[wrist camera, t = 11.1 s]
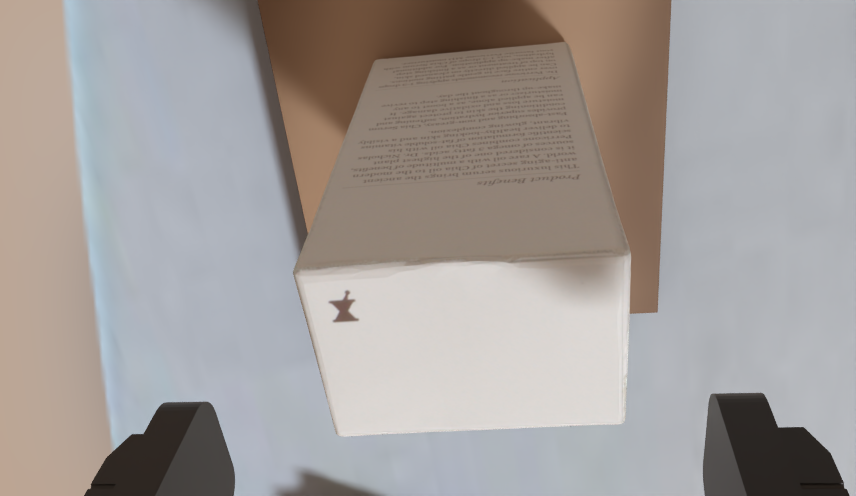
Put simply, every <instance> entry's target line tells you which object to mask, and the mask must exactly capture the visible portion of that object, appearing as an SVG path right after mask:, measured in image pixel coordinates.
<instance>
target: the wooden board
mask: <svg viewBox="0 0 856 496" xmlns="http://www.w3.org/2000/svg"><path fill="white" fill-rule="evenodd" d="M258 5H259V9H260V14H261V19H262V23H263V28H264V33H265V37H266V42H267V47H268V51H269V56H270V60H271V65H272V70H273V74H274V79H275V84H276V88H277V93H278V98H279V102H280V107H281V111H282V116H283V121H284V125H285V130H286V135H287V139H288V144H289V149H290V153H291V158H292V163H293V167H294V172H295V176H296V181H297V186H298V190H299V195H300V200H301V204H302V209H303V214H304V218H305V223H306V227H307V232H308V233H309V231H310V228H311V226H312V223H313V220H314V217H315V214H316V212H317V209H318V207H319V204H320V201H321V199H322V196H323V193H324V191H325V188H326V185H327V183H328V181H329V178H330V175H331V172H332V170H333V168H334V165H335V162H336V159H337V157H338V154H339V151H340V148H341V146H342V143H343V141H344V138H345V136H346V133H347V130H348V128H349V125H350V122H351V120H352V118H353V115H354V113H355V110H356V107H357V105H358V102H359V99H360V97H361V94H362V91H363V89H364V86H365V83H366V81H367V78H368V76H369V73H370V70H371V68H372V65H373V63H374V61H375V60H378V59H388V58H399V57H411V56H422V55H432V54H441V53H453V52H463V51H473V50H484V49H495V48H505V47H516V46H527V45H539V44H550V43H559V42H566V43H568V45H569V46H570V48H571V51H572V54H573V58H574V61H575V65H576V68H577V72H578V75H579V79H580V83H581V86H582V89H583V93H584V97H585V100H586V104H587V107H588V111H589V115H590V118H591V122H592V125H593V129H594V132H595V136H596V139H597V143H598V147H599V150H600V153H601V157H602V160H603V164H604V168H605V171H606V174H607V177H608V181H609V184H610V188H611V191H612V195H613V198H614V202H615V205H616V208H617V211H618V214H619V217H620V221H621V224H622V227H623V229H624V232H625V235H626V239H627V242H628V245H629V248H630V252H631V280H630V314H632V313H655V312H657V311H658V288H659V266H660V243H661V221H662V198H663V175H664V153H665V130H666V108H667V85H668V62H669V40H670V17H671V0H258Z"/></svg>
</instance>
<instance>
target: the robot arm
mask: <svg viewBox="0 0 856 496" xmlns="http://www.w3.org/2000/svg"><path fill="white" fill-rule="evenodd" d="M703 482H704V492H705V496H849V493H848V491H847V489H844V482H843V480H842V478H841V476H840V473H839V471H838V469H837V467H836V465H835V462H834V460H833V458H832V456H831V453H830V452H829V451H828V450H827V449H826V448H825V447H824V446H822V445H821V444H820V443H819V442H818V441H817V440H816V439H815V438H814V437H813V436H812V435H811V434H810V433H809V432H808V431H807V430H806V429H805V428H804V427H786V428H778V426H777V424H776V421H775V419H774V416H773V413H772V411H771V408H770V406H769V403H768V401H767V399H766V397H765V395H764V394H763V393H727V394H711V396H710V399H709V406H708V416H707V427H706V438H705V449H704V460H703ZM234 488H235V474H234V467H233V464H232V461H231V458H230V455H229V452H228V449H227V445H226V442H225V439H224V436H223V433H222V430H221V427H220V424H219V421H218V418H217V415H216V412H215V410H214V407H213V406H212V405H211V403H209V402H168V403H163V404H162V405H161V406H160V407H159V408H158V409H157V411H156V413H155V414H154V416H153V418H152V420H151V422H150V423H149V425H148V427H147V429H146V431H145V432H144V434H132V435H131V436H129V437H128V438H127V439H126V440H125V441H124V442H123V443H122V444H121V445H120V446H119V447H118V448H116V449H115V450H114V451H113V452H112V453H111V454H110V455H109V456H108V457H107V458H106V459H105V461H104V463H103V464H102V466H101V468H100V470H99V471H98V473H97V475H96V476H95V478H94V480H93V481H92V484H91V489H88V490H87V492H86V493H85V495H84V496H233V495H234Z"/></svg>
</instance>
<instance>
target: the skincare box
mask: <svg viewBox="0 0 856 496" xmlns="http://www.w3.org/2000/svg"><path fill="white" fill-rule="evenodd" d="M293 275H294V278H295V282H296V286H297V289H298V293H299V297H300V300H301V304H302V307H303V311H304V314H305V318H306V322H307V325H308V329H309V333H310V337H311V340H312V344H313V348H314V351H315V355H316V359H317V363H318V366H319V370H320V374H321V378H322V381H323V385H324V389H325V393H326V397H327V401H328V404H329V408H330V412H331V416H332V420H333V424H334V427H335V431H336V434H337V435H338V436H362V435H377V434H398V433H419V432H439V431H466V430H490V429H512V428H532V427H556V426H581V425H618V424H622V423H623V422H624V420H625V413H626V390H627V365H628V341H629V314H630V280H631V252H630V248H629V245H628V242H627V239H626V235H625V232H624V229H623V227H622V224H621V221H620V217H619V214H618V211H617V208H616V205H615V202H614V198H613V195H612V191H611V188H610V184H609V181H608V177H607V174H606V171H605V168H604V164H603V160H602V157H601V153H600V150H599V147H598V143H597V139H596V136H595V132H594V129H593V125H592V122H591V118H590V115H589V111H588V107H587V104H586V100H585V97H584V93H583V89H582V86H581V83H580V79H579V75H578V72H577V68H576V65H575V61H574V58H573V54H572V51H571V48H570V46H569V45H568V43H566V42H559V43H550V44H539V45H527V46H516V47H505V48H495V49H484V50H473V51H463V52H453V53H441V54H432V55H422V56H411V57H399V58H388V59H378V60H375V61H374V63H373V65H372V68H371V70H370V73H369V76H368V78H367V81H366V83H365V86H364V89H363V91H362V94H361V97H360V99H359V102H358V105H357V107H356V110H355V113H354V115H353V118H352V120H351V122H350V125H349V128H348V130H347V133H346V136H345V138H344V141H343V143H342V146H341V148H340V151H339V154H338V157H337V159H336V162H335V165H334V168H333V170H332V172H331V175H330V178H329V181H328V183H327V185H326V188H325V191H324V193H323V196H322V199H321V201H320V204H319V207H318V209H317V212H316V214H315V217H314V220H313V223H312V226H311V228H310V231H309V233H308V235H307V238H306V240H305V243H304V245H303V248H302V251H301V253H300V256H299V258H298V261H297V263H296V265H295V268H294V271H293Z"/></svg>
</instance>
